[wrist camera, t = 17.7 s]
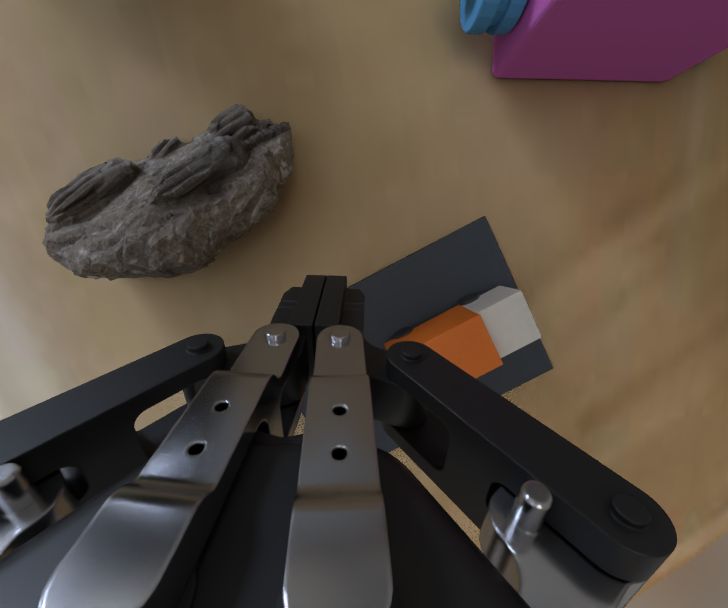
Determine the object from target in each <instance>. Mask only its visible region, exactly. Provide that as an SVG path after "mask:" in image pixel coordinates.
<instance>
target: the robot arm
mask: <svg viewBox="0 0 728 608" xmlns="http://www.w3.org/2000/svg"><path fill="white" fill-rule="evenodd" d="M364 305H365V295H364V294H363V293H362V291H361V290H360V289H347V277H346V276H327V277H326V275H307V276H306V278H305V281H304V284H303V286H302V287H292V288H291V289H289V290H288V291H286V292H285V293H284V295H283V297H282V299H281V302H280V303H279V306H278V308H277V310H276V312H275V314H274V316H273V318H272V321H271V323H270V324H269V325H266V326H263V327H261V328H259V329H258V330H257V331H255V333H254V334H253V335H252V337H251V339H250V340H249V342H248V343H246V344H241V345H235V346H229V347H225V345H224V341H223V339H222V338H221V337H219V336H217V335H214V334H199V335H194V336H191V337H188V338H186V339H183V340H181V341H179V342H177V343H174V344H172V345H170V346H168V347H165V348H163V349H161V350H159V351H156V352H154V353H152V354H150V355H147V356H145V357H143V358H141V359H138V360H136V361H134V362H132V363H129V364H127V365H125V366H123V367H120V368H118V369H116V370H114V371H111V372H109V373H107V374H105V375H102V376H100V377H98V378H96V379H93V380H91V381H89V382H87V383H84V384H82V385H80V386H78V387H75V388H73V389H71V390H69V391H66V392H64V393H62V394H60V395H57V396H55V397H53V398H51V399H48V400H46V401H44V402H42V403H39V404H37V405H35V406H33V407H30V408H28V409H26V410H24V411H21V412H19V413H17V414H15V415H12V416H10V417H8V418H6V419H3V420H1V421H0V608H624V607H625V606H626V604H627V603H628V602H629V601H630V600H631V599H632V598H633V596H634V595H635V594H636V593H637V592H638V591H639V590H640V589H641V587H642V586H643V585H644V584H645V583H646V582H647V581H648V579H649V578H650V577H651V576H652V575H653V574H654V573H655V571H656V570H657V569H658V568H659V567H660V566H661V565H662V563H663V562H664V561H665V560H666V559H667V558H668V557H669V555H670V554H671V553H672V552H673V551H674V549H675V547H676V544H677V534H676V531H675V528H674V526H673V524H672V521H671V520H670V518H669V517H668V515H667V514H666V513H665V511H664V510H663V509H662V508H661V507H660V506H659V505H658V504H657V502H655V501H654V500H653V499H652V498H651V497H650V496H648V495H647V494H646V493H644V492H643V491H642V490H640V489H639V488H637V487H636V486H634V485H633V484H631V483H630V482H628V481H627V480H625V479H624V478H622V477H621V476H619V475H618V474H616V473H615V472H613V471H612V470H610V469H609V468H607V467H606V466H604V465H603V464H602V463H600V462H599V461H597V460H596V459H594V458H593V457H591V456H590V455H588V454H587V453H585V452H584V451H582V450H581V449H579V448H578V447H576V446H575V445H573V444H572V443H570V442H569V441H567V440H566V439H564V438H563V437H561V436H560V435H559V434H557V433H556V432H554V431H553V430H551V429H550V428H548V427H547V426H545V425H544V424H542V423H541V422H539V421H538V420H536V419H535V418H533V417H532V416H530V415H529V414H527V413H526V412H524V411H523V410H521V409H520V408H518V407H517V406H516V405H514V404H513V403H511V402H510V401H508V400H507V399H505V398H504V397H502V396H501V395H499V394H498V393H496V392H495V391H493V390H492V389H490V388H489V387H487V386H486V385H484V384H483V383H481V382H480V381H478V380H477V379H475V378H474V377H473V376H471V375H470V374H468V373H467V372H465V371H464V370H462V369H461V368H459V367H458V366H456V365H455V364H453V363H452V362H450V361H449V360H447V359H446V358H444V357H443V356H441V355H440V354H438V353H437V352H435V351H434V350H432V349H431V348H430V347H428V346H426V345H424V344H422V343H419V342H415V341H401V342H397V343H394V344H393V345H391V346H390V347H389V348H388V350H384V349H380V348H377V347H375V346H373V345H371V344H370V343H369V342H368V341H367V340H366V339H365V338H364ZM307 384H309V390H308V399H307V407H306V416H305V425H304V433H303V434H301V435H295V436H294V433H295V430H296V427H297V424H298V421H299V418H300V415H301V412H302V409H303V405H304V393H305V390H306V385H307ZM181 390H183V392H184V396H185V399H186V402H187V404H185V405H183V406H181V407H180V408H178V409H176V410H174V411H173V412H171V413H169V414H167V415H166V416H164V417H162V418H160V419H159V420H157V421H155V422H154V423H152V424H150V425H148V426H147V427H145V428H143V429H141V430H139V431H135V428H134V424H135V421H136V419H137V417H138V416H139V415H140V414H141V413H142V412H143V411H145V410H146V409H148V408H150V407H152V406H154V405H156V404H157V403H159V402H161V401H163V400H165V399H167V398H168V397H170V396H172V395H174V394H176V393H178V392H179V391H181ZM374 420H377V421H381V422H382V427H383V429H384V431H385V432H386V434H387V435H388V436H389V437H390V438H391V439H392V440H393V441H394V442H395V443H396V444H397V445H398V446H399V447H400V448H401V449H402V450H403V451H404V452H405V453H406V454H407V455H408V456H409V457H410V458H411V459H412V460H413V461H414V462H415V463H416V464H417V465H418V467H419V468H420V469H421V470H422V471H423V472H424V473H425V474H426V475H427V476H428V477H429V478H430V479H431V480H432V481H433V482H434V483H435V484H436V485H437V486H438V487H439V488H440V489H441V490H442V491H443V492H444V493H445V494H446V495H447V496H448V497H449V498H450V499H451V500H452V501H453V502H454V503H455V504H456V505H457V506H458V507H459V508H460V510H461V511H462V512H463V513H464V514H465V515H466V516H467V517H468V518H469V519H470V520H471V521H472V522H473V523H474V524H475V525H476V526H477V527H478V528H479V529H480V535H479V539H480V545H481V549H482V552H483V553H482V552H481V550H480V549H479V548H478V547H477V546H476V545H475V544H474V543H473V541H472V540H471V539H470V538H469V537H468V536H467V535H466V533H465V532H464V531H463V530H462V529H461V528H460V527H459V526H458V524H457V523H456V522H455V521H454V520H453V519H452V518H451V516H450V515H449V514H448V513H447V512H446V511H445V510H444V509H443V507H442V506H441V505H440V504H439V503H438V502H437V501H436V499H435V498H434V497H433V496H432V495H431V494H430V493H429V492H428V490H427V489H426V488H425V487H424V486H423V485H422V484H421V482H420V481H419V480H418V479H417V478H416V477H415V476H414V475H413V473H412V472H411V471H410V470H409V469H408V468H407V467H406V466H405V465H404V464H403V463H401V462H400V461H399V460H398V459H397V458H395V457H394V456H392V455H391V454H389V453H387V452H385V451H384V450H382V449H379V448H377V446H376V436H375V427H374Z"/></svg>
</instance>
